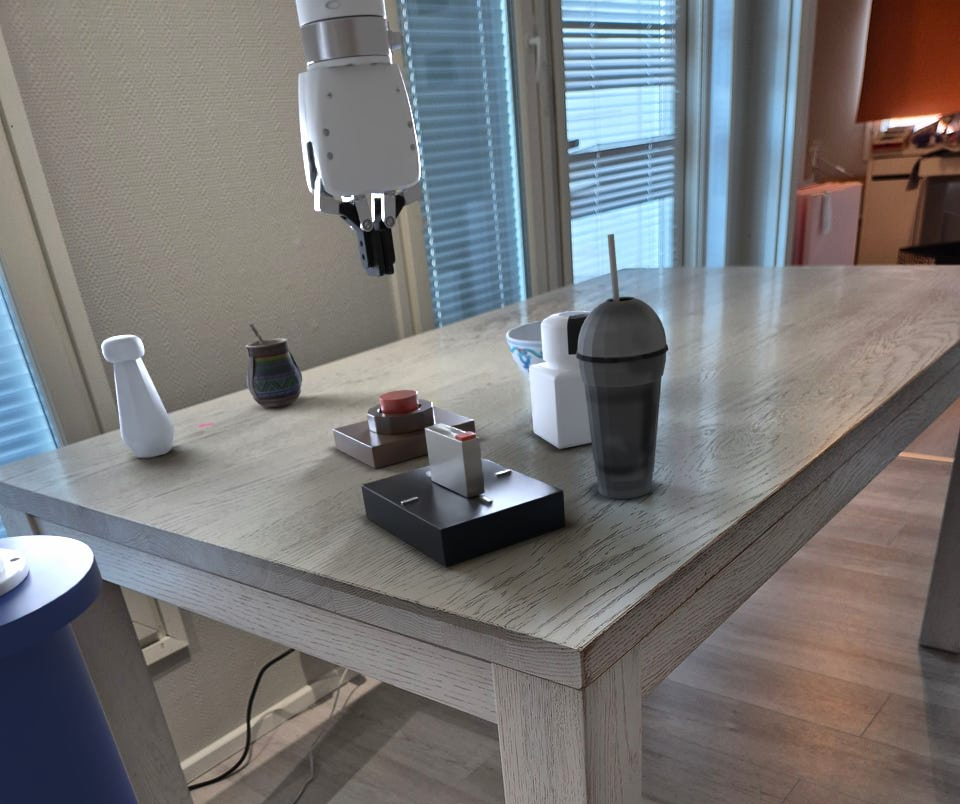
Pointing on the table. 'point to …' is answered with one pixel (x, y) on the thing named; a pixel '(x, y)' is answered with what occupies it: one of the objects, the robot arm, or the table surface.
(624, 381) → the beverage cup
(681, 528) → the table surface
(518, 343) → the chinaware
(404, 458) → the button box
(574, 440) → the medicine bottle
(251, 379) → the mate gourd
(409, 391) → the button
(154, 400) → the salt shaker
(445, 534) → the panel
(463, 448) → the brushed metal brick
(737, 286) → the table surface
